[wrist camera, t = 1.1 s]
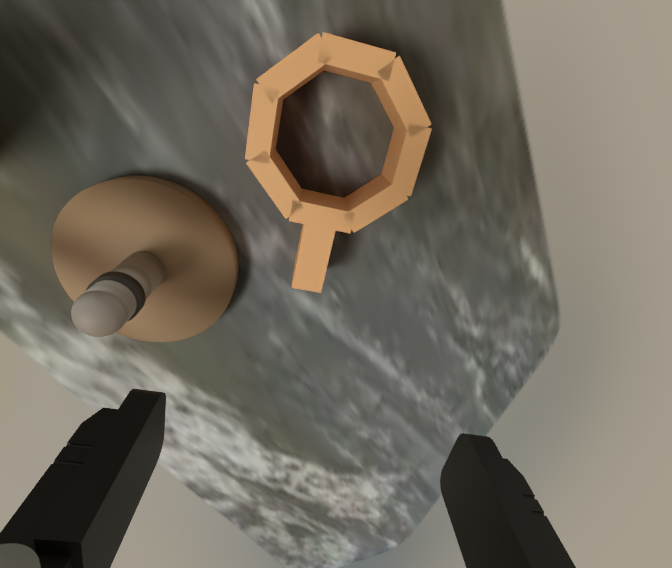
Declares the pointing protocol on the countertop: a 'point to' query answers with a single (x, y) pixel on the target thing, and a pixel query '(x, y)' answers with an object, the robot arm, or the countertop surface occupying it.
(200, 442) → the countertop surface
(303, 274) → the ring
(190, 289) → the round wooden base
